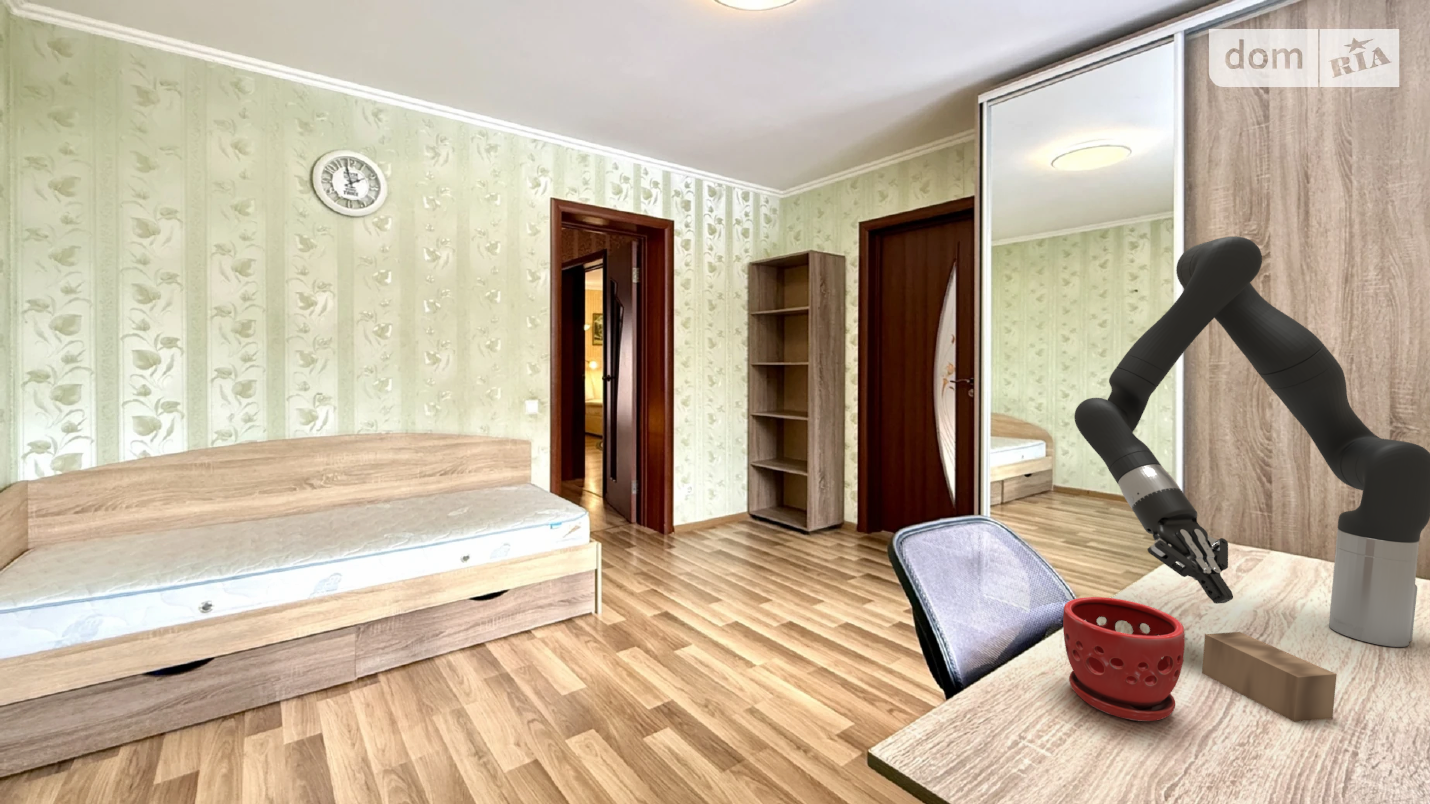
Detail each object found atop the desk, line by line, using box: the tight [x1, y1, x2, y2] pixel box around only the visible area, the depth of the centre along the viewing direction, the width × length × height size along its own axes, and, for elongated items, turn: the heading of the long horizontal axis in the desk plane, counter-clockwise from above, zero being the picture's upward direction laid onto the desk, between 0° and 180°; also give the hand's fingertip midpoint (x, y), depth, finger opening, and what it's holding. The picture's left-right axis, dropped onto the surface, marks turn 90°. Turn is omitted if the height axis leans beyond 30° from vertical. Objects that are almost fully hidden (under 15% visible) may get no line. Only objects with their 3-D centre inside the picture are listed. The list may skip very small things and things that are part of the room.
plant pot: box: [1062, 596, 1186, 722], centre depth 79 cm, size 13×13×12 cm
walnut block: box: [1201, 631, 1338, 723], centre depth 82 cm, size 6×6×12 cm
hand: (1224, 601), depth 87 cm, fingers closed
